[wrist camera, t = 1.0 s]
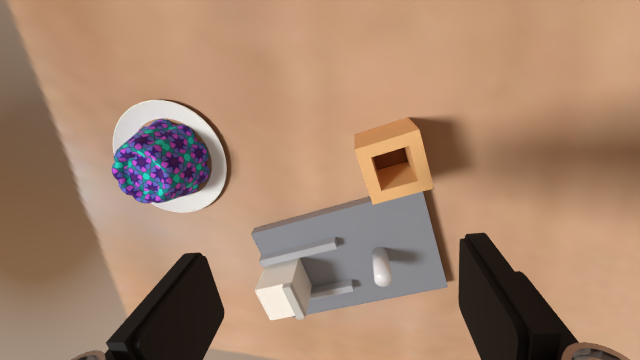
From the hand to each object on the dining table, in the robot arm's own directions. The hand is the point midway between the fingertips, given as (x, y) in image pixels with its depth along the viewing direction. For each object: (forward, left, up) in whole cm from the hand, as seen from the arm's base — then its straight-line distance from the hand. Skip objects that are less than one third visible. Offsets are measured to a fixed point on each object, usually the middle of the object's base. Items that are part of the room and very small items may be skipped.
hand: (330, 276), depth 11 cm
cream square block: (+10, +12, -17) cm, 24 cm away
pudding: (+17, -4, -19) cm, 26 cm away
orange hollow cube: (-4, +2, -19) cm, 19 cm away
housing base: (+3, +12, -19) cm, 23 cm away
